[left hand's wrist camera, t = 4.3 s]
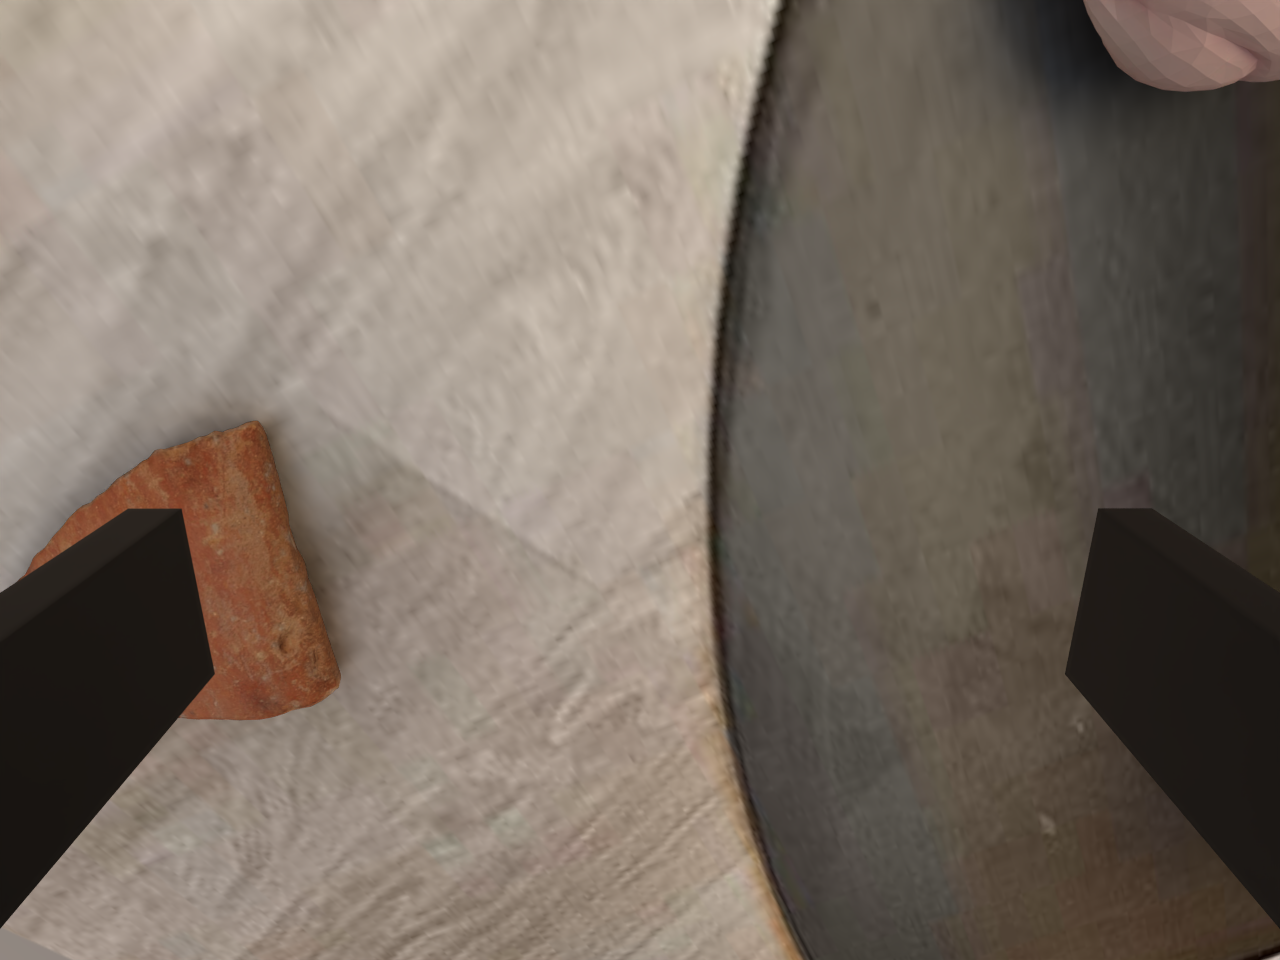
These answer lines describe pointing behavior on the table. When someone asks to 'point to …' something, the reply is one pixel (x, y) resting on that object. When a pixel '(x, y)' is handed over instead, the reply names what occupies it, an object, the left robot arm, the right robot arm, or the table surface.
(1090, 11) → the toy
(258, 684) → the ceramic shard
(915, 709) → the table surface
